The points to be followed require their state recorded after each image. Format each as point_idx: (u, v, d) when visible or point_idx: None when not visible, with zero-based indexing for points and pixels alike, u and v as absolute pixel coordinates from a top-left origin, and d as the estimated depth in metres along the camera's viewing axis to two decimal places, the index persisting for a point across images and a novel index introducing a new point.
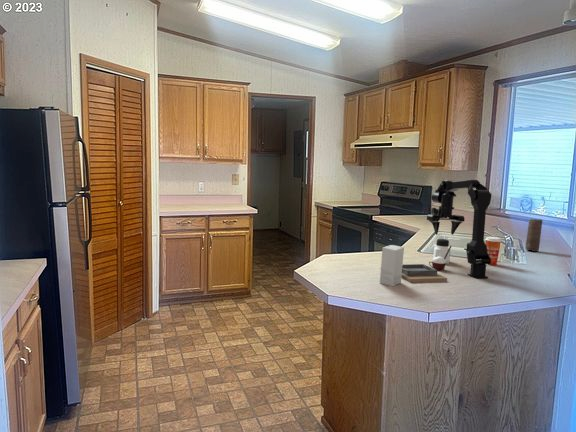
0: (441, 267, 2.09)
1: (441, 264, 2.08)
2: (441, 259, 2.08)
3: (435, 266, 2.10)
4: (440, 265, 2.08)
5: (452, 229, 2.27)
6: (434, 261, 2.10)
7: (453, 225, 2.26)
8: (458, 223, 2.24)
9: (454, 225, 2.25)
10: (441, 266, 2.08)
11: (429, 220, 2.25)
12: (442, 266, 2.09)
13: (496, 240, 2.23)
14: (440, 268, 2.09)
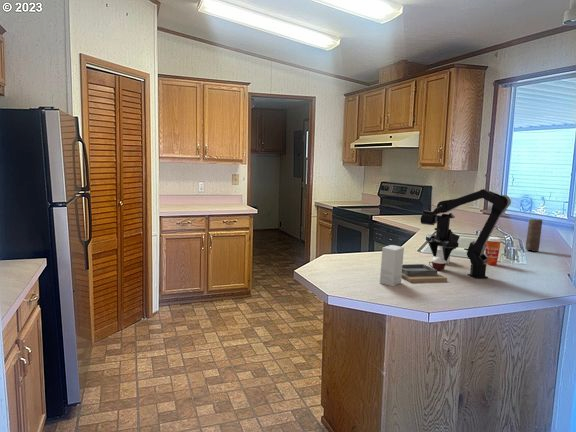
0: (441, 267, 2.09)
1: (441, 264, 2.08)
2: (441, 259, 2.08)
3: (435, 266, 2.10)
4: (440, 265, 2.08)
5: None
6: (434, 261, 2.10)
7: None
8: (443, 248, 2.04)
9: None
10: (441, 266, 2.08)
11: None
12: (442, 266, 2.09)
13: (496, 240, 2.23)
14: (440, 268, 2.09)
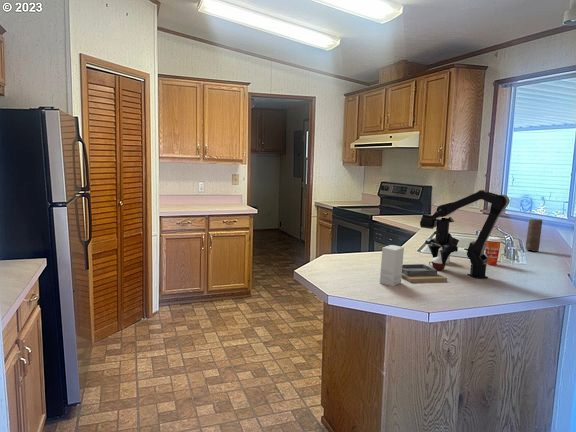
0: (441, 267, 2.09)
1: (441, 264, 2.08)
2: (441, 259, 2.08)
3: (435, 266, 2.10)
4: (440, 265, 2.08)
5: None
6: (434, 261, 2.10)
7: None
8: (441, 251, 2.05)
9: None
10: (441, 266, 2.08)
11: None
12: (442, 266, 2.09)
13: (496, 240, 2.23)
14: (440, 268, 2.09)
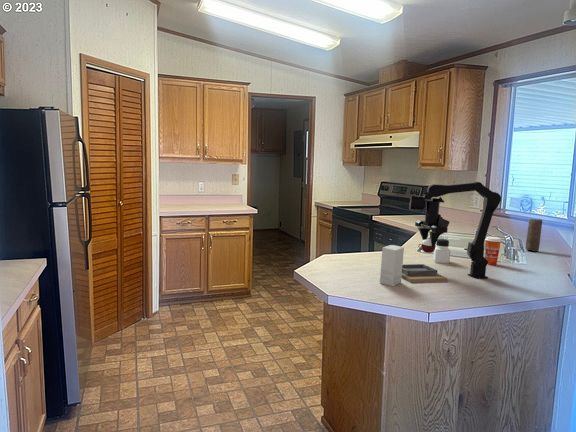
0: (431, 249, 2.01)
1: (431, 246, 2.00)
2: None
3: (424, 248, 2.02)
4: (430, 247, 2.00)
5: None
6: (423, 243, 2.02)
7: None
8: (430, 233, 1.97)
9: None
10: (431, 248, 2.01)
11: None
12: (432, 248, 2.01)
13: (496, 240, 2.23)
14: (430, 250, 2.01)
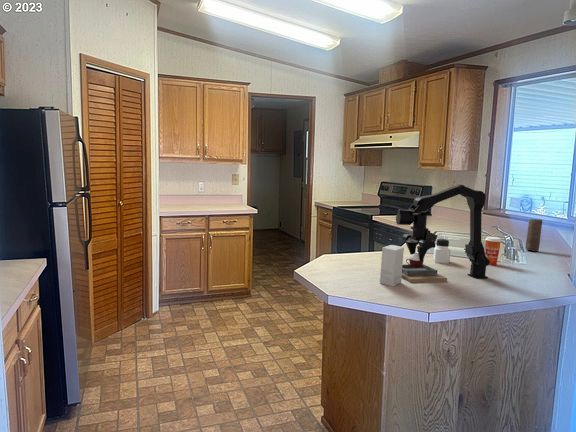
0: (419, 264, 1.95)
1: (418, 261, 1.95)
2: (418, 256, 1.95)
3: (412, 263, 1.96)
4: (417, 262, 1.95)
5: None
6: (411, 258, 1.96)
7: None
8: (418, 248, 1.91)
9: None
10: (419, 263, 1.95)
11: None
12: (420, 263, 1.95)
13: (496, 240, 2.23)
14: (417, 265, 1.95)
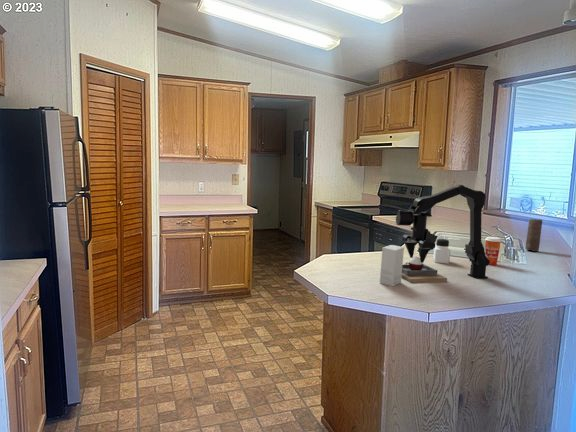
0: (418, 268, 1.95)
1: (418, 265, 1.95)
2: (418, 260, 1.95)
3: (412, 267, 1.96)
4: (417, 266, 1.95)
5: None
6: (411, 262, 1.96)
7: None
8: (419, 249, 1.90)
9: None
10: (418, 267, 1.95)
11: None
12: (419, 267, 1.95)
13: (496, 240, 2.23)
14: (417, 269, 1.95)
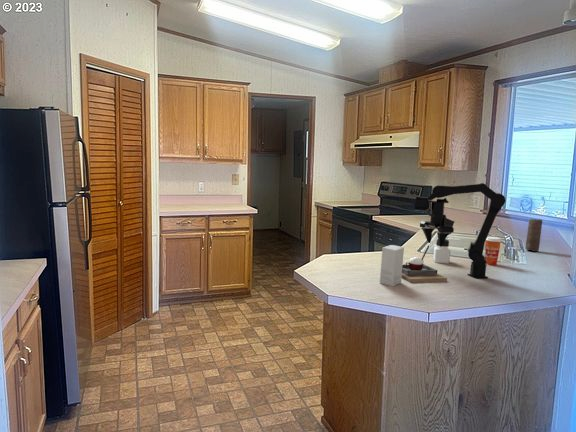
0: (418, 268, 1.95)
1: (418, 265, 1.95)
2: (418, 260, 1.95)
3: (412, 267, 1.96)
4: (417, 266, 1.95)
5: None
6: (411, 262, 1.96)
7: None
8: (438, 233, 1.99)
9: None
10: (418, 267, 1.95)
11: None
12: (419, 267, 1.95)
13: (496, 240, 2.23)
14: (417, 269, 1.95)
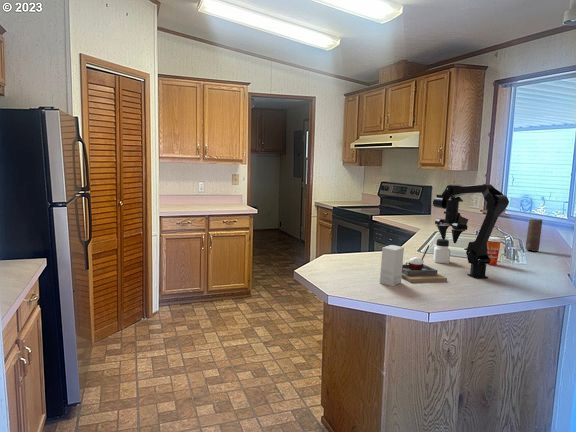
0: (418, 268, 1.95)
1: (418, 265, 1.95)
2: (418, 260, 1.95)
3: (412, 267, 1.96)
4: (417, 266, 1.95)
5: None
6: (411, 262, 1.96)
7: None
8: (452, 230, 2.08)
9: None
10: (418, 267, 1.95)
11: None
12: (419, 267, 1.95)
13: (496, 240, 2.23)
14: (417, 269, 1.95)
